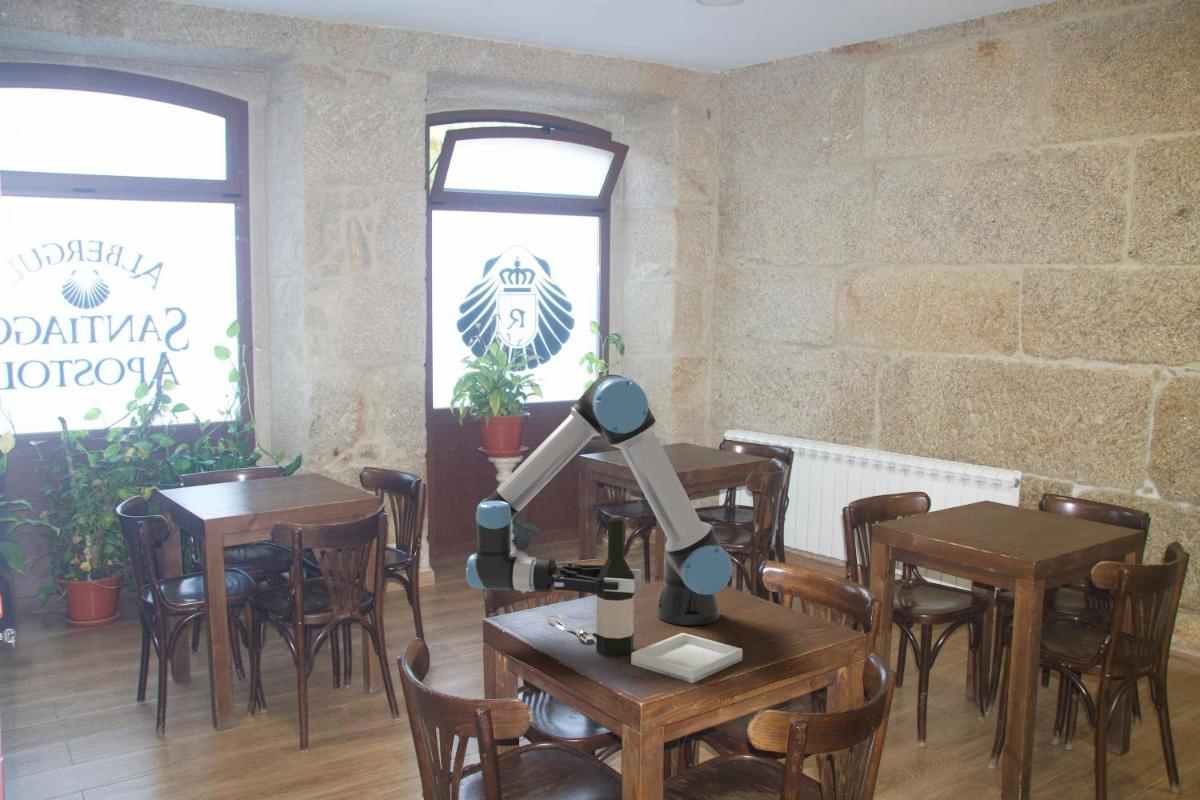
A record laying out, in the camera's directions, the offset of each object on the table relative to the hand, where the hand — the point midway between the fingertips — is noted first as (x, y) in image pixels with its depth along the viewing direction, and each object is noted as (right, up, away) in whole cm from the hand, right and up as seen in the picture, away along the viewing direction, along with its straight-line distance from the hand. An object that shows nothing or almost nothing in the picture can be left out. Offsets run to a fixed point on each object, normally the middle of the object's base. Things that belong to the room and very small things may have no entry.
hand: (637, 580), depth 221 cm
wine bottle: (-5, -16, +2) cm, 17 cm away
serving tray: (+10, -17, -4) cm, 20 cm away
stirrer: (-15, -15, +16) cm, 26 cm away
